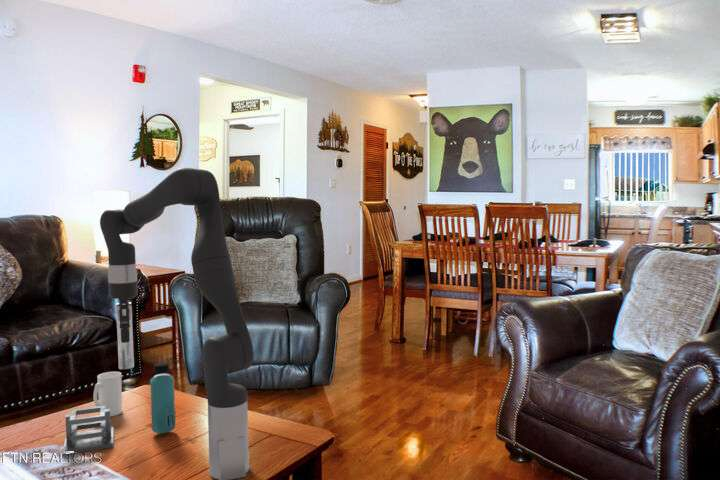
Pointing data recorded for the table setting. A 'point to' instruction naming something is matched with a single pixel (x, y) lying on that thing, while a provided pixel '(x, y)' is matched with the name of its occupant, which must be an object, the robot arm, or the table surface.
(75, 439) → the collar stand
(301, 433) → the table surface
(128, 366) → the steel tube
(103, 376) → the mug
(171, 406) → the beverage bottle
